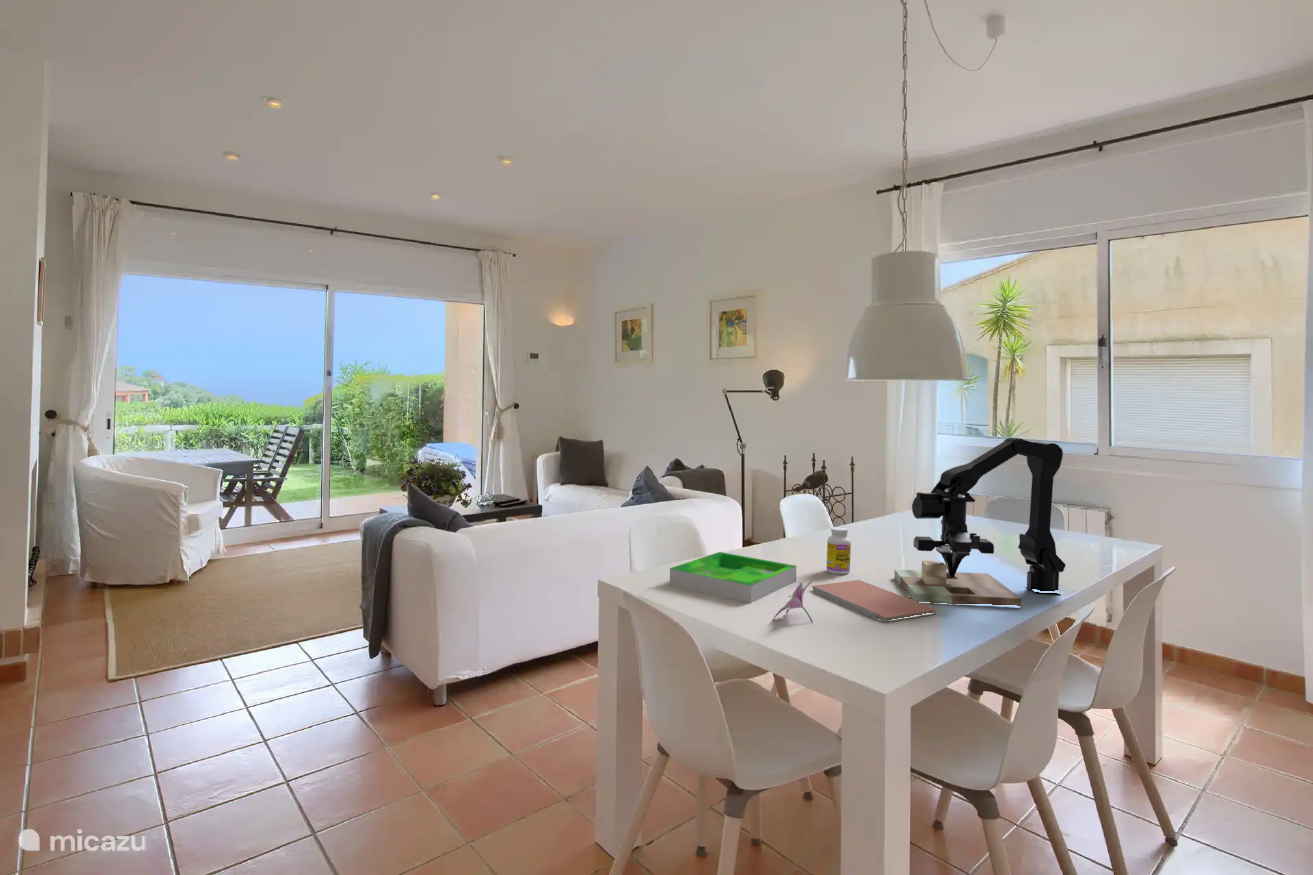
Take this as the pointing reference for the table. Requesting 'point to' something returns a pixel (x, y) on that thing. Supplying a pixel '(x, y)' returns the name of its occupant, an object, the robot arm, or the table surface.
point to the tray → (733, 576)
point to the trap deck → (957, 589)
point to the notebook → (871, 600)
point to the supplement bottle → (838, 551)
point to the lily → (796, 600)
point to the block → (934, 572)
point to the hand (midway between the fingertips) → (951, 577)
